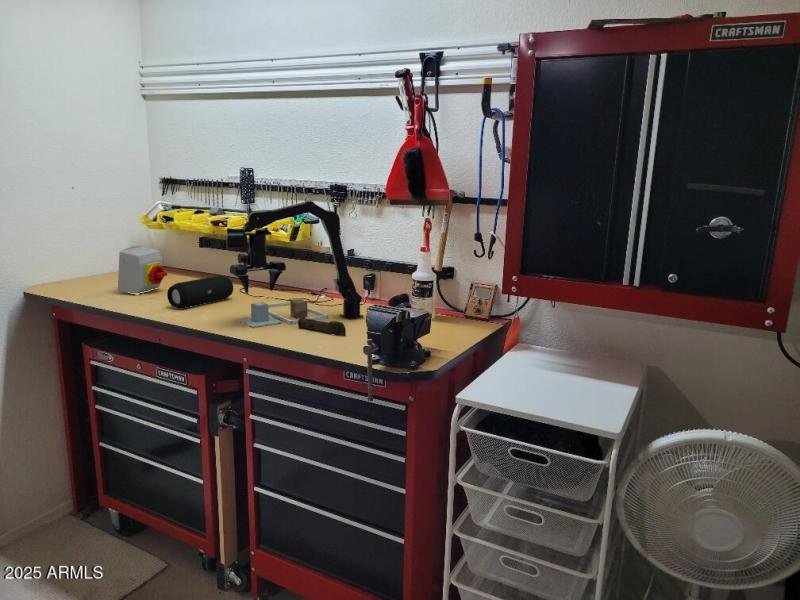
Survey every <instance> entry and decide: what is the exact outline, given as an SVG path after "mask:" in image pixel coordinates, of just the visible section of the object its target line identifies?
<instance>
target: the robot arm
mask: <svg viewBox="0 0 800 600" xmlns="http://www.w3.org/2000/svg"><path fill="white" fill-rule="evenodd" d="M305 214H311V215H313V216H314V217H315V218H317V219H319V220H320V222H321V225H322V228H323V229H324V231H325V233H326V235H327V237H328V242H329V245H330V250H331V254H332V258H333V262H334V266H335V271H336V278H333V279H332V280H333V283H334V288H335V290H336V292H338V294H340V295H341V297H342V298H343V306H342V308H343V311H342V313H341V314H339V315H340V317H342V318H344V319H346V320H353V319H360V318H364V315H363V314H361V302H362V300H363V296H361V295H360V294H359V293H358V292H357V288H356V286H355V283H354V281H353V279H352V277H351V275H350V273H349V270H348V266H347V261H346V258H345V257H346V256H345V253H344V248H343V244H342V240H341V239H342V238H341V236H340V235H341V221H340V215H339V214H338V213H337V212H335V211H333V210H330V209H329V210H326V209H324V208H323V207H321V206H319V205H318V204H316V203H315V202H313V200H305V201H303V202H302V201H301V202H299V203H295V204H292V205H291V204H290V205H287V206H283V207H279V208H276V209H275V208H274V209H260V210H253V211H251V212H250V213H249V214H248V215H247V222H246V223H245V224H244V225H243V227H242V228H231V227H228V228H226V249H228V250H229V249H245V247H246V246H248V247H249V248H248V250H247V254H245V253H238V254H237V261H238V264H231V265H230V267H229V274H231V275H233V276H235V277H237V278H238V279H239V281H240V283H241V285H242V288H243V290H244V293H245V294H249V284H250V283H249V275H248V272H255V271H256V272H257V271H258V272H259V271H268V274H269V291H270V292H273V290H274V288H275V286H276V283H277V281H278V279H279V277H280V276H281V274H283V272H284V271H287V265H286V263H285V262H284V261H280V260H272V261H269V263H268V262H267V258H268V257H267V255H269V251H268V250H267V236H272V231H270V230H269V229H268V226H269V225H271V224H273V223H275V222H277V221H280V220H284V219H285V220H286V219H288V218H293V217H296V216H297V217H298V216H300V215H305ZM263 228H264V229H263ZM253 231H254V232H253Z"/></svg>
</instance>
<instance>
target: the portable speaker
mask: <svg viewBox="0 0 800 600" xmlns="http://www.w3.org/2000/svg"><path fill="white" fill-rule="evenodd" d="M233 293H234V284H233V281H232V280H231V279H230V277H227V276H224V275H214V276H210V277H204V278H199V279H192V280H187V281H180V282H177V283H174V284H172V285H171V286H170V287H168V289H167V293H166V295H167V300H168V301H167V302H168V303H169V304H170V305H171V307H173V308H175V309H181V308H184V309H186V308H185V307H188V308H191V307H190V306H193V307H196V306H195V305H197V306H201V305H200V304H202V305H205V304H204V303H206V304H210V303H209V302H211V303H215V302H219V301H218V300H220V301H223V299H224V300H227V299H228V298H229V297H230V296H231V295H233ZM214 301H215V302H214Z"/></svg>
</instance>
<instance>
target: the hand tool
mask: <svg viewBox="0 0 800 600" xmlns="http://www.w3.org/2000/svg"><path fill="white" fill-rule="evenodd" d="M297 326H298V328H299V329H303V328H304V329H308V330H314V331H319V332H326V333H329V335H330V334H334V335H333V336H338V335H343V336H346V334H347V331H346V327H345V323H343V322H341V321H337V320H335V321H334V320H332V321H329V322H328V321H324V320H323V321H321V320H312V319H306V318H305V317H301V318H300V319H299V320H298V323H297ZM343 336H342V337H343Z"/></svg>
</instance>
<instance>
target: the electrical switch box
mask: <svg viewBox="0 0 800 600" xmlns="http://www.w3.org/2000/svg"><path fill="white" fill-rule="evenodd" d="M118 254H119V255H118V276H117V277H118V278H117V291H118V292H120V293H124V292H130V293H140V292H144V291H148V290H151V289H155V288H158V287H159V288H160V286H161V284H162V281H163V280H164V277H167V276H168V272H167V271H165V269H164V268H163V256H162V252H161V250H157V249H154V248H149V247H145V246H140V245H130V246H128V247H125V248H123V249H121V250H120V251H119V252H118ZM159 288H158V289H159Z"/></svg>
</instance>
